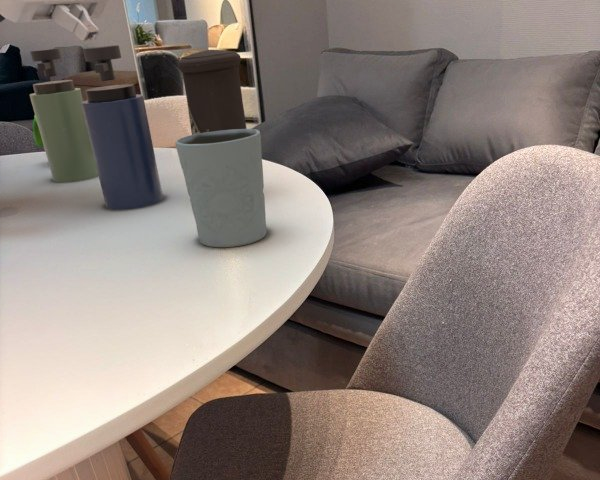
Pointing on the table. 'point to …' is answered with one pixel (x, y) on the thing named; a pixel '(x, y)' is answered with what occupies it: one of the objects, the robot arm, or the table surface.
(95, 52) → the navy flask pump
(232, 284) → the table surface
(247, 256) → the table surface
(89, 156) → the sage flask
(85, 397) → the table surface
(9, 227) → the table surface
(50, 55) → the sage flask pump
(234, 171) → the grey-green cup
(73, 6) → the robot arm
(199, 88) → the container
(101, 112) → the navy lidded canister
